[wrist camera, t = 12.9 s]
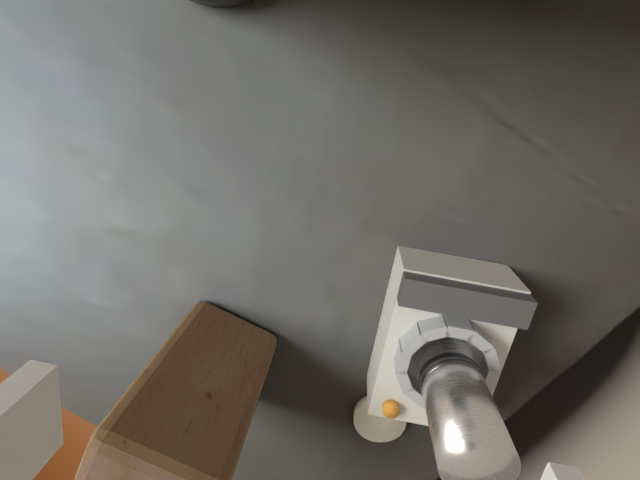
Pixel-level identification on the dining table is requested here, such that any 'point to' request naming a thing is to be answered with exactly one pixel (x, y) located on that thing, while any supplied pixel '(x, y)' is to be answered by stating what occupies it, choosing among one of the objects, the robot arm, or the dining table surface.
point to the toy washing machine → (441, 323)
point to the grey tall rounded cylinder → (463, 415)
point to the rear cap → (376, 424)
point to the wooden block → (186, 404)
